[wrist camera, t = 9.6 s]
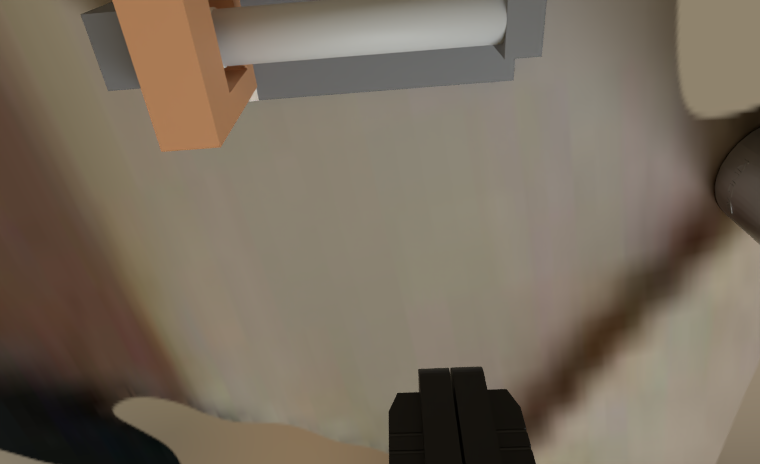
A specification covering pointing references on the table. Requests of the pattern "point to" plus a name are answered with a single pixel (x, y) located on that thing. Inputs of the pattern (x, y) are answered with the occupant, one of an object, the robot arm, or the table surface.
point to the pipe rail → (351, 65)
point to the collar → (184, 71)
